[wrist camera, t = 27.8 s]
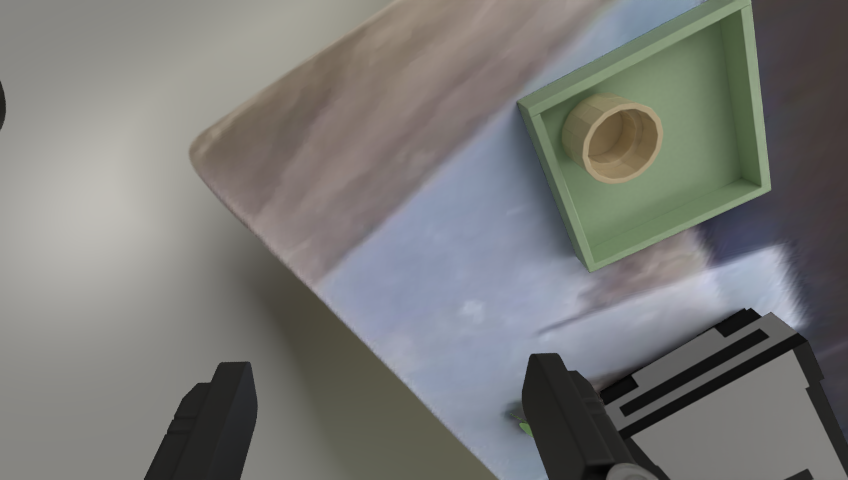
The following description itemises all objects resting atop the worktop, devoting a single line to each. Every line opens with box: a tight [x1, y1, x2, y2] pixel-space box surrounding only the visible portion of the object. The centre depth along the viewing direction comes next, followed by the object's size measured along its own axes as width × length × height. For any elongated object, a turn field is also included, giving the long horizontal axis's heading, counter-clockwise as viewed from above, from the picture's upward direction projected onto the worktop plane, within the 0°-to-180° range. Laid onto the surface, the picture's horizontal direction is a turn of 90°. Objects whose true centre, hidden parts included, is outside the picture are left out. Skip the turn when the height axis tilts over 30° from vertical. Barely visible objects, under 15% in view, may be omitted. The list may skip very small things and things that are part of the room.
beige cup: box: [562, 92, 663, 184], centre depth 36 cm, size 6×6×5 cm
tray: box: [517, 0, 771, 273], centre depth 39 cm, size 18×18×3 cm
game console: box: [600, 308, 848, 480], centre depth 56 cm, size 21×32×8 cm, turn 38°
